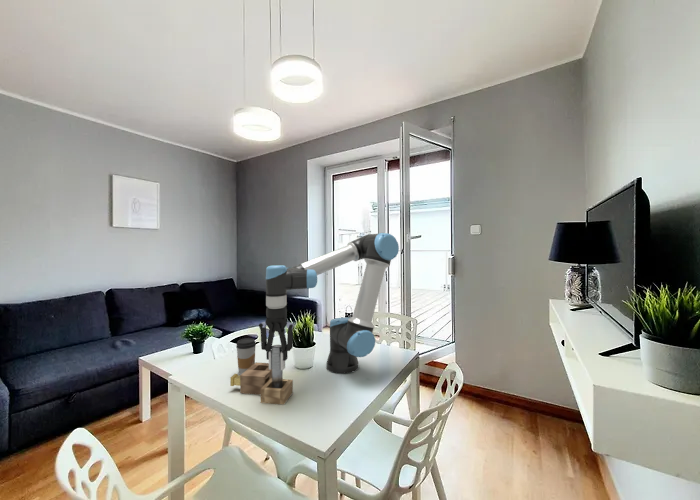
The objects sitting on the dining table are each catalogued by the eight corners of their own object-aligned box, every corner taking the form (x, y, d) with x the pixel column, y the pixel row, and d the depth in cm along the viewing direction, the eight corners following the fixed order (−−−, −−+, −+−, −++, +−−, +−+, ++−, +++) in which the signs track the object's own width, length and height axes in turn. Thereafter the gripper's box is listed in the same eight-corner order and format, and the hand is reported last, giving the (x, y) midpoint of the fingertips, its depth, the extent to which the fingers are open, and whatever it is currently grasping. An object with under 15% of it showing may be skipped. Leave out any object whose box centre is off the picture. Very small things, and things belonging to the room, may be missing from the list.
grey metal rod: (284, 391, 113) (283, 344, 113) (280, 396, 109) (279, 348, 109) (274, 390, 113) (273, 344, 113) (270, 396, 109) (269, 348, 109)
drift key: (265, 384, 117) (265, 375, 117) (262, 388, 114) (261, 379, 114) (235, 382, 119) (235, 373, 119) (230, 385, 116) (230, 377, 116)
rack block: (292, 392, 115) (292, 379, 115) (284, 404, 106) (284, 390, 106) (270, 390, 116) (270, 378, 116) (260, 402, 107) (260, 389, 107)
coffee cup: (250, 378, 127) (249, 344, 127) (232, 377, 129) (232, 343, 128) (259, 370, 135) (259, 338, 135) (243, 369, 137) (242, 337, 137)
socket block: (277, 379, 126) (277, 363, 126) (264, 395, 113) (264, 376, 113) (255, 378, 127) (255, 362, 127) (240, 393, 114) (240, 375, 114)
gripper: (301, 305, 113) (301, 365, 113) (259, 304, 116) (260, 363, 116) (294, 309, 106) (295, 373, 106) (250, 308, 108) (251, 371, 109)
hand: (277, 368), depth 111 cm, fingers closed on grey metal rod, 4 cm apart
